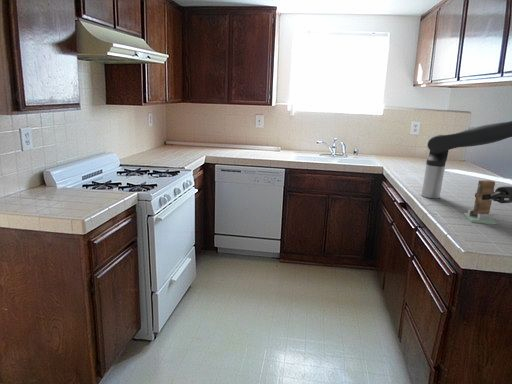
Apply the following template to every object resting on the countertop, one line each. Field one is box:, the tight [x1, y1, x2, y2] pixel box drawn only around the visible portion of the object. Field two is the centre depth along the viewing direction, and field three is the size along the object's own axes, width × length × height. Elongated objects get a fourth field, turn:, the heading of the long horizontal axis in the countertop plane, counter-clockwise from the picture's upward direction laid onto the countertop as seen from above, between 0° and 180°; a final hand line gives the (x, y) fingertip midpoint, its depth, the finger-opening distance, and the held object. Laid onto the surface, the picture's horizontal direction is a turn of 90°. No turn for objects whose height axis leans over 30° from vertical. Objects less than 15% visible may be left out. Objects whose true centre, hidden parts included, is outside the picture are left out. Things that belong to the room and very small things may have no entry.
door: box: [472, 179, 496, 215], centre depth 177 cm, size 3×7×15 cm, turn 108°
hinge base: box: [464, 209, 498, 225], centre depth 179 cm, size 11×10×4 cm
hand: (479, 196), depth 176 cm, fingers closed on door, 3 cm apart
